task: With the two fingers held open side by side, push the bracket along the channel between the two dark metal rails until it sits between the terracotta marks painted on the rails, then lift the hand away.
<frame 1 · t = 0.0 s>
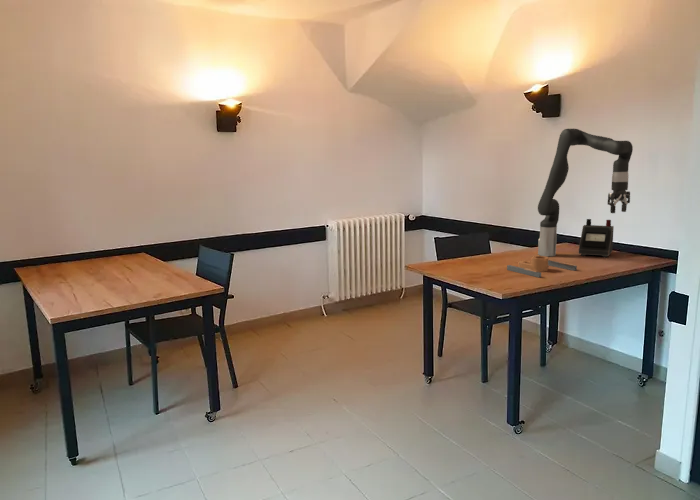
hand: (618, 212, 283), 29 cm above the table, tool pointing down, fingers open, 8 cm apart
voltmeter: (595, 255, 325), on the table
bracket: (532, 269, 295), on the table
guide rails: (541, 270, 290), on the table
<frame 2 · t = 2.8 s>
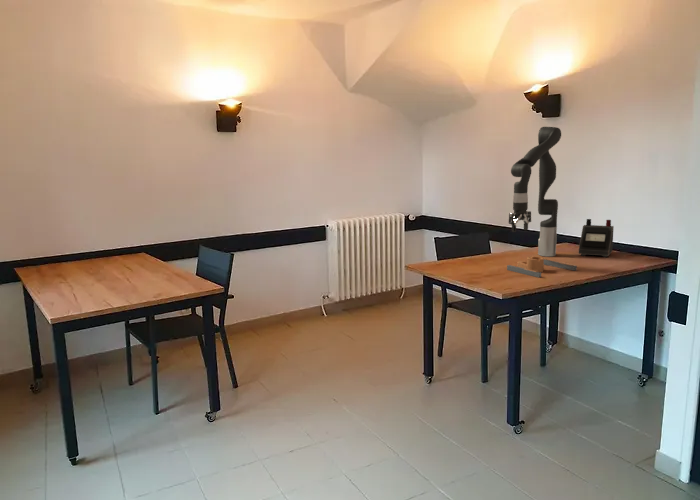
hand: (519, 231, 300), 19 cm above the table, tool pointing down, fingers open, 8 cm apart
bracket: (529, 269, 294), on the table
everything else where it was.
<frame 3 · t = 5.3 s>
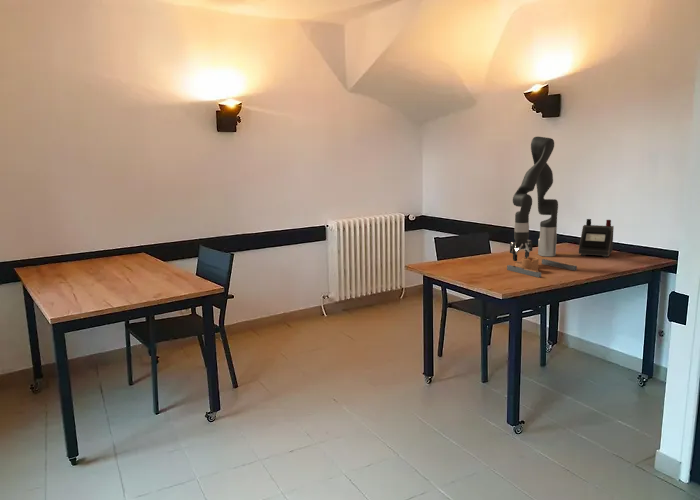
hand: (520, 260, 302), 3 cm above the table, tool pointing down, fingers open, 8 cm apart
bracket: (526, 269, 294), on the table
everything else where it was.
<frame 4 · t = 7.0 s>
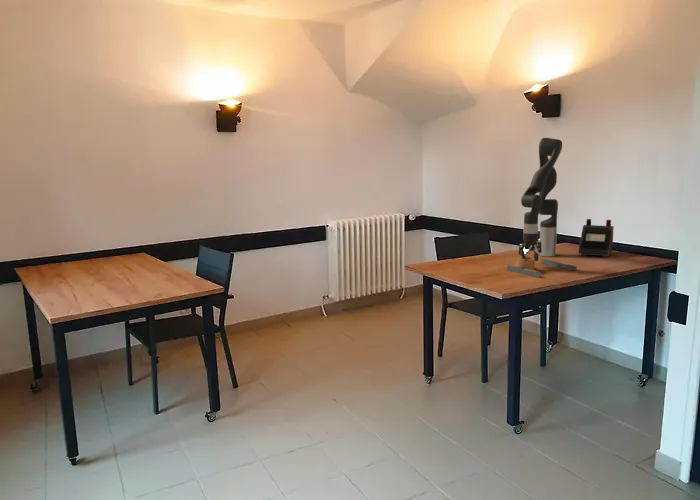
hand: (529, 261, 296), 3 cm above the table, tool pointing down, fingers open, 8 cm apart
bracket: (524, 269, 294), on the table, touching gripper
everything else where it was.
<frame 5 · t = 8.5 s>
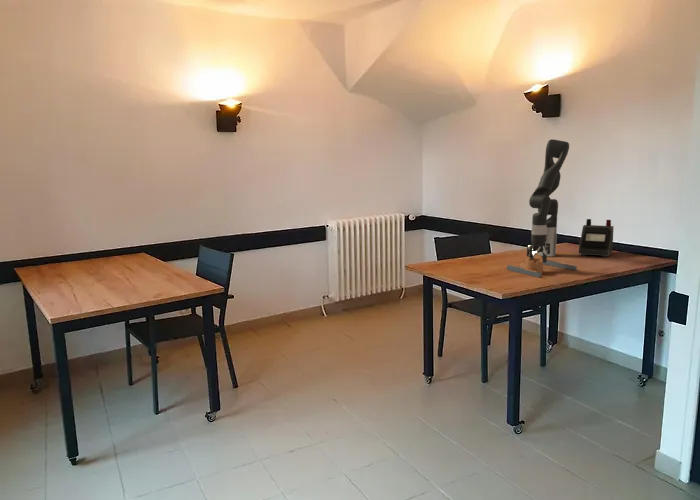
hand: (538, 263, 291), 3 cm above the table, tool pointing down, fingers open, 8 cm apart
bracket: (530, 271, 289), on the table, touching gripper
everything else where it was.
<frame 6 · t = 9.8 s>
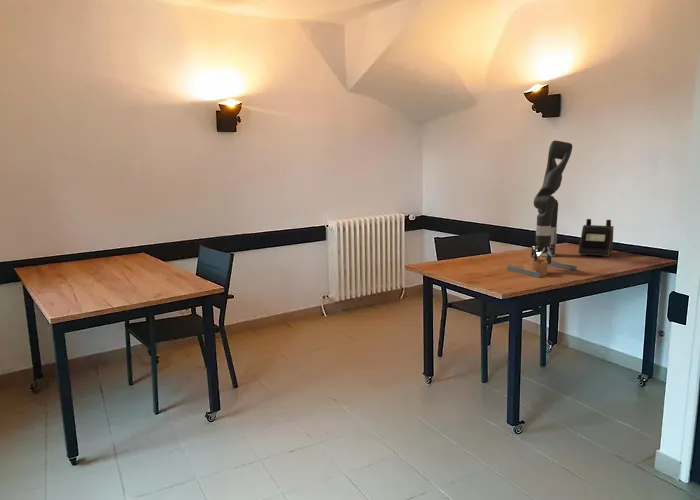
hand: (542, 264, 289), 3 cm above the table, tool pointing down, fingers open, 8 cm apart
bracket: (535, 272, 286), on the table, touching gripper
everything else where it was.
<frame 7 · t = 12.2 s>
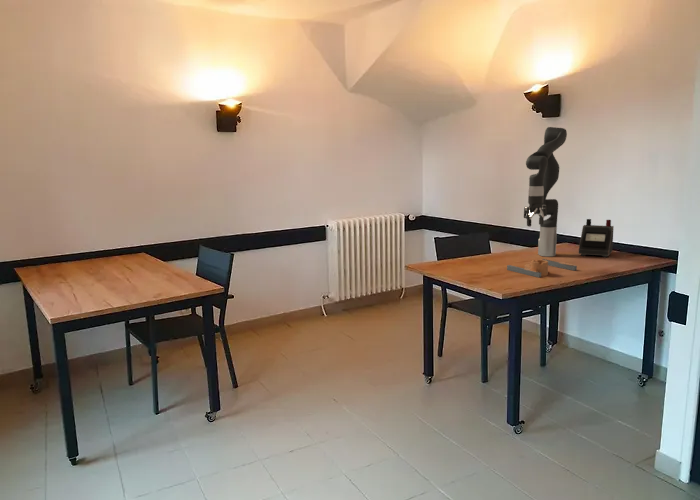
hand: (535, 225, 290), 23 cm above the table, tool pointing down, fingers open, 8 cm apart
bracket: (535, 272, 286), on the table
everything else where it was.
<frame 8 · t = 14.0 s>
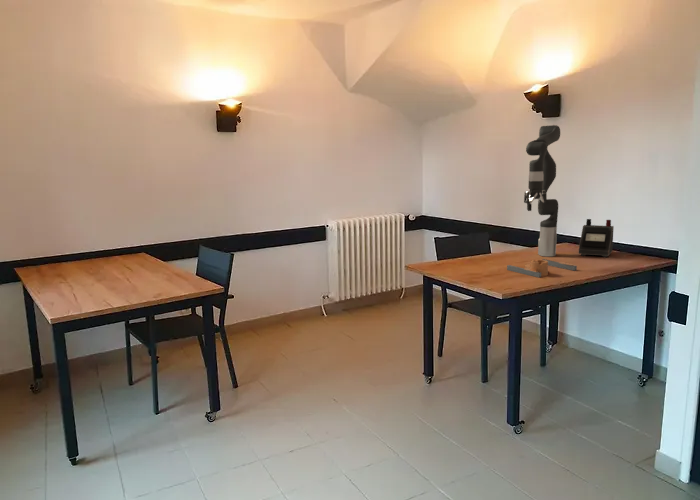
hand: (535, 210, 298), 30 cm above the table, tool pointing down, fingers open, 8 cm apart
nothing on the table moved.
at the end: bracket inside the target area (6.7 cm from its centre), on the table; bracket moved 9.1 cm from its start; the gripper is holding nothing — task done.
